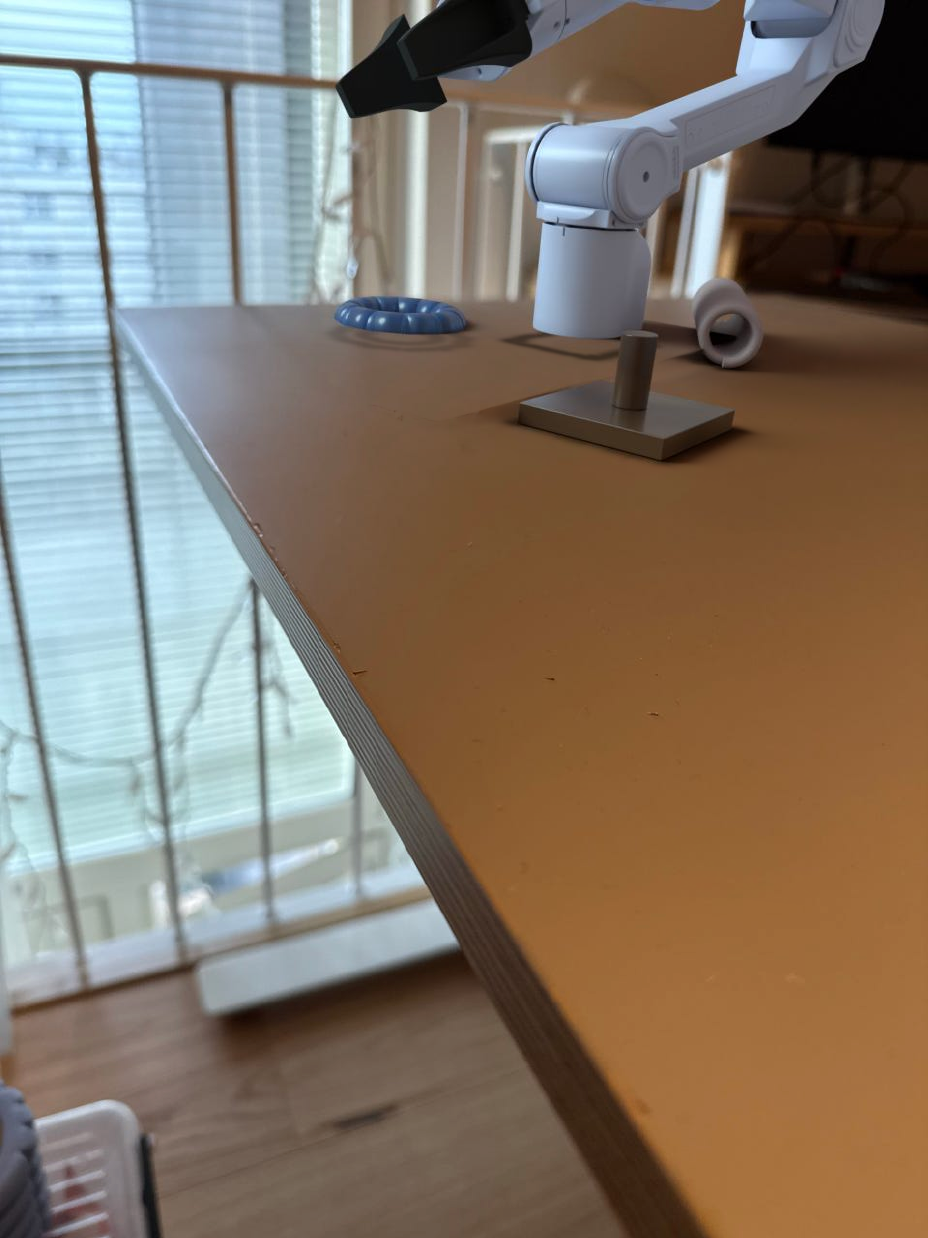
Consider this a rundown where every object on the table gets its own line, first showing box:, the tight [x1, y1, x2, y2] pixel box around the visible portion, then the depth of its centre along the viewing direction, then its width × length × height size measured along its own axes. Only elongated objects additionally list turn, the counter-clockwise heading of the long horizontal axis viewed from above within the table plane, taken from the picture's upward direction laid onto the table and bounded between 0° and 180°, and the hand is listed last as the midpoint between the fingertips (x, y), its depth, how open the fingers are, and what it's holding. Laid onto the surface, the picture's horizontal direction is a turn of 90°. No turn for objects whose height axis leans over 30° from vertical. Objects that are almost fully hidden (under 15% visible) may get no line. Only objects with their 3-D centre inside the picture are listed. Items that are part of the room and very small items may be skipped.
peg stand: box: [517, 329, 736, 461], centre depth 52 cm, size 9×9×5 cm
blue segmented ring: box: [333, 295, 467, 335], centre depth 72 cm, size 10×10×2 cm
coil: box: [691, 277, 764, 369], centre depth 77 cm, size 5×5×18 cm
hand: (374, 81), depth 54 cm, fingers open, 7 cm apart
